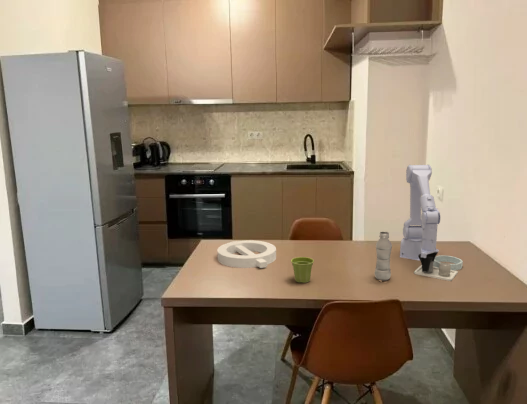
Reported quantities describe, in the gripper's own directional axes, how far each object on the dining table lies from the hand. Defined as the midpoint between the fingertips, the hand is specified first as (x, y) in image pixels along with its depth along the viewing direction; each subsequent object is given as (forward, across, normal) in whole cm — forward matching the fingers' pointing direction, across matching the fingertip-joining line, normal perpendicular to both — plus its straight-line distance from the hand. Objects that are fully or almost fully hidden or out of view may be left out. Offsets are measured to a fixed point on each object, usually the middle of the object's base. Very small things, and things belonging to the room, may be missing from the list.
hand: (427, 269), depth 187 cm
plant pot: (+2, -36, +40) cm, 54 cm away
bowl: (+2, +12, -5) cm, 14 cm away
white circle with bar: (+2, -26, +77) cm, 81 cm away
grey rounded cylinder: (+1, 0, -7) cm, 7 cm away
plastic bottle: (+2, -18, +13) cm, 22 cm away
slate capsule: (+1, 0, 0) cm, 1 cm away
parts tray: (+2, 0, -4) cm, 4 cm away
